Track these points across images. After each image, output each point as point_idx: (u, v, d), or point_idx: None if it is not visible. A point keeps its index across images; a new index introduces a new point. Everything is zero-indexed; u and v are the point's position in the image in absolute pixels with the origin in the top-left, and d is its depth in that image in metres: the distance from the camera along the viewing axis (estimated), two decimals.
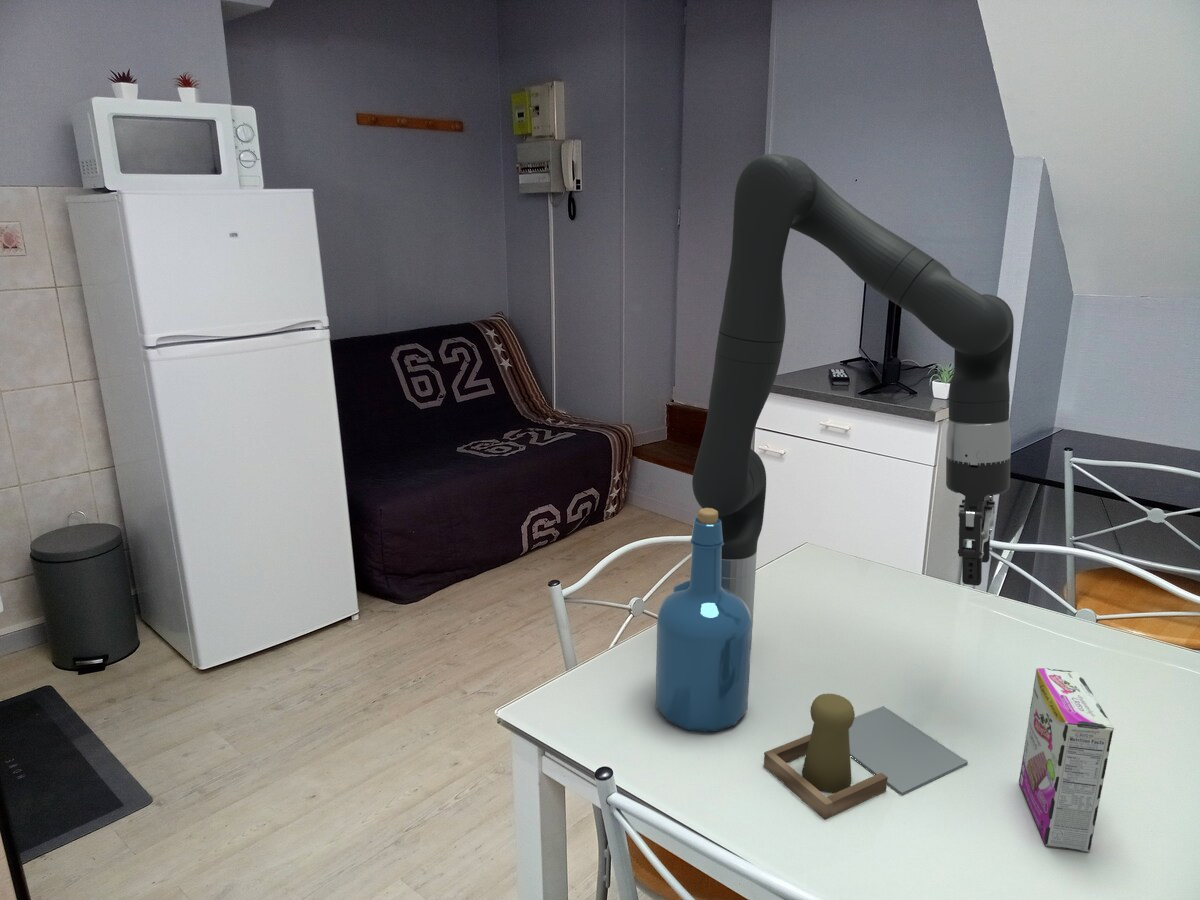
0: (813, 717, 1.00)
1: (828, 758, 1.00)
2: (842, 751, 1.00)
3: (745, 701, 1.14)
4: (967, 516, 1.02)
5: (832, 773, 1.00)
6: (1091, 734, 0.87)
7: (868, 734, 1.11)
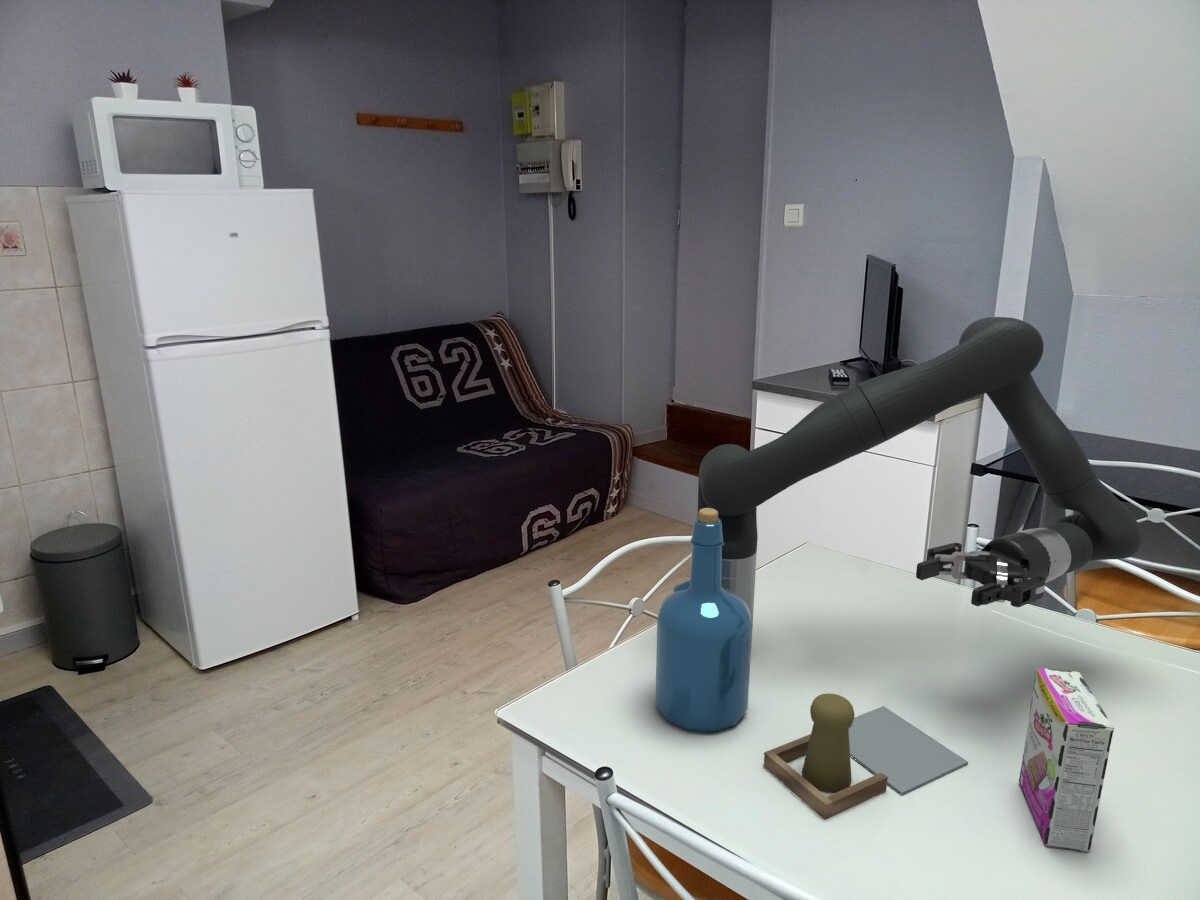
0: (813, 717, 1.00)
1: (828, 758, 1.00)
2: (842, 751, 1.00)
3: (745, 701, 1.14)
4: (1043, 586, 1.04)
5: (832, 773, 1.00)
6: (1091, 734, 0.87)
7: (868, 734, 1.11)
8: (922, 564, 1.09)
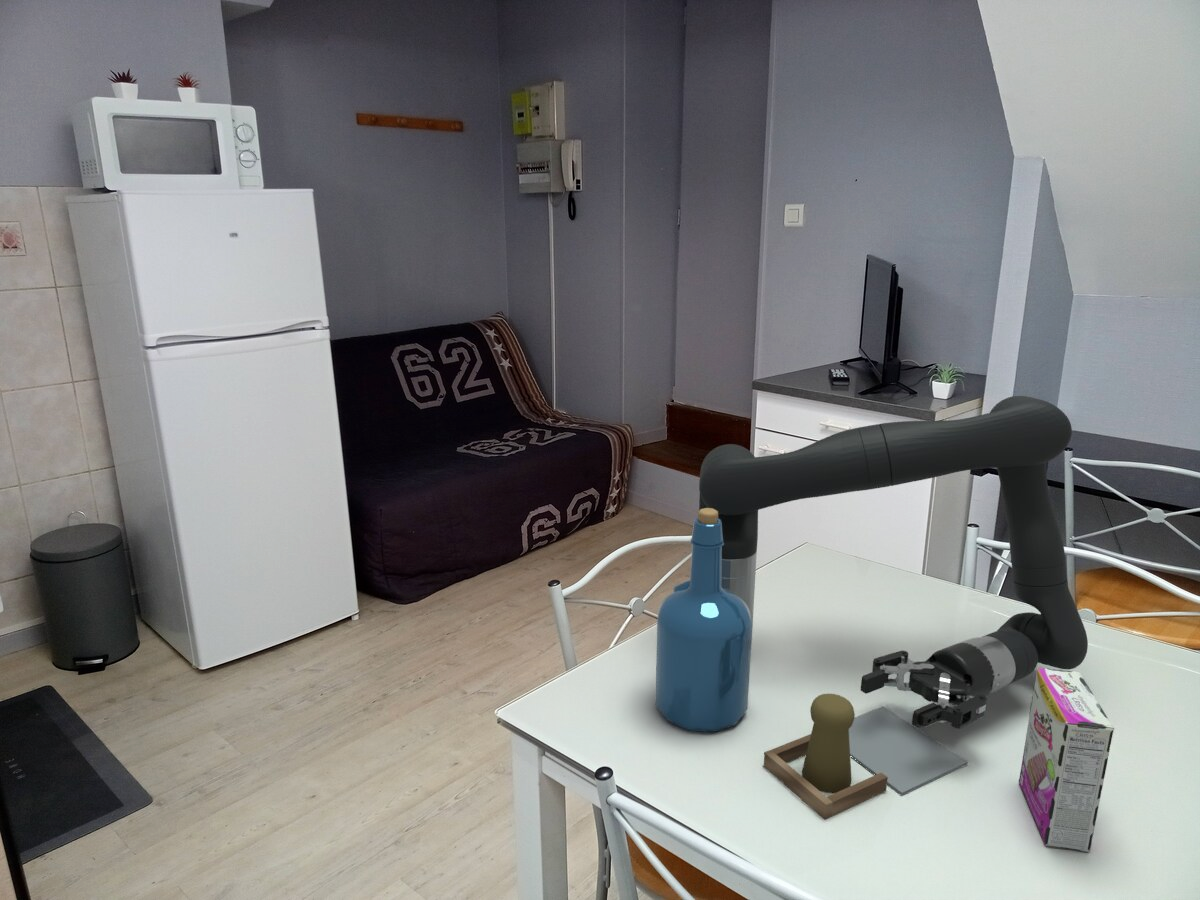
0: (813, 717, 1.00)
1: (828, 758, 1.00)
2: (842, 751, 1.00)
3: (745, 701, 1.14)
4: (984, 705, 1.05)
5: (832, 773, 1.00)
6: (1091, 734, 0.87)
7: (868, 734, 1.11)
8: (866, 678, 1.09)
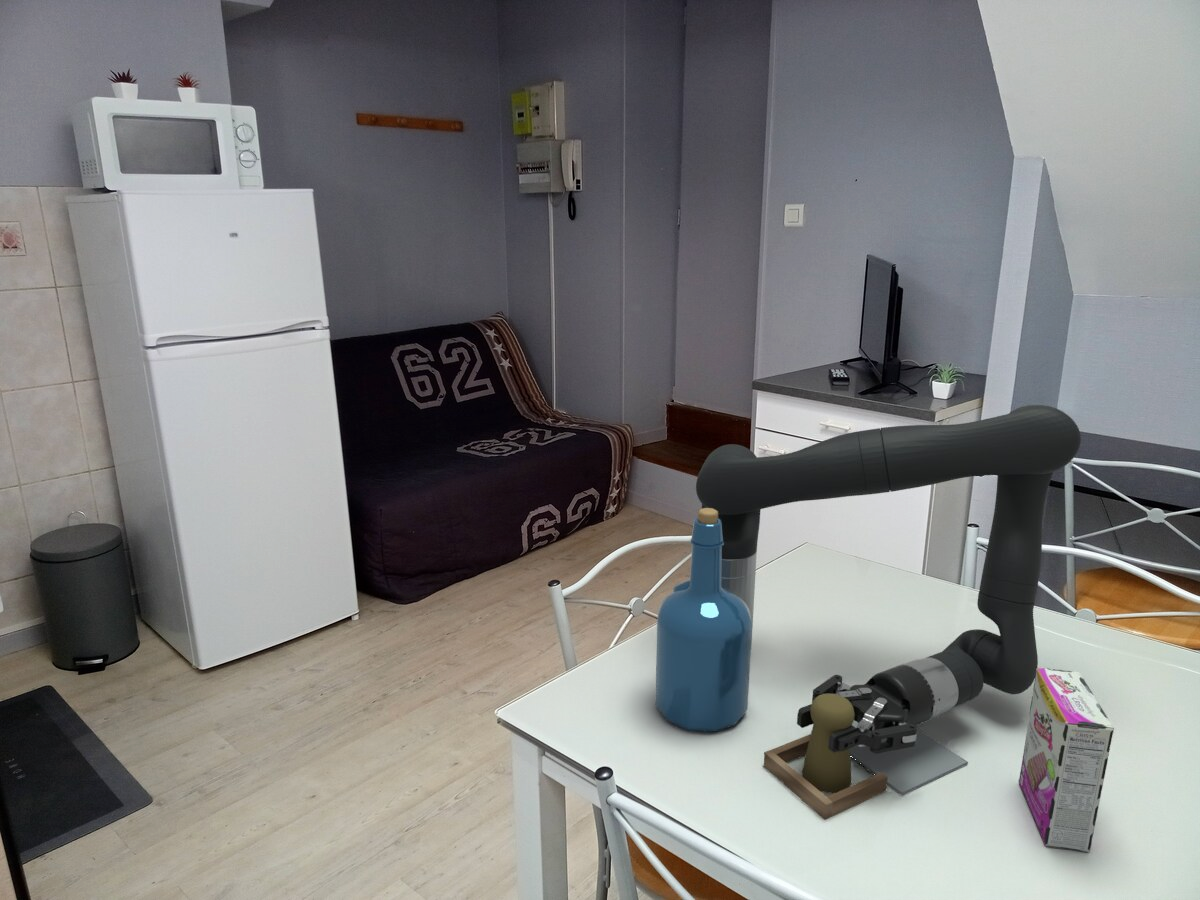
0: (813, 717, 1.00)
1: (828, 758, 1.00)
2: (842, 751, 1.00)
3: (745, 701, 1.14)
4: (914, 735, 0.99)
5: (832, 773, 1.00)
6: (1091, 734, 0.87)
7: None
8: (803, 711, 1.02)
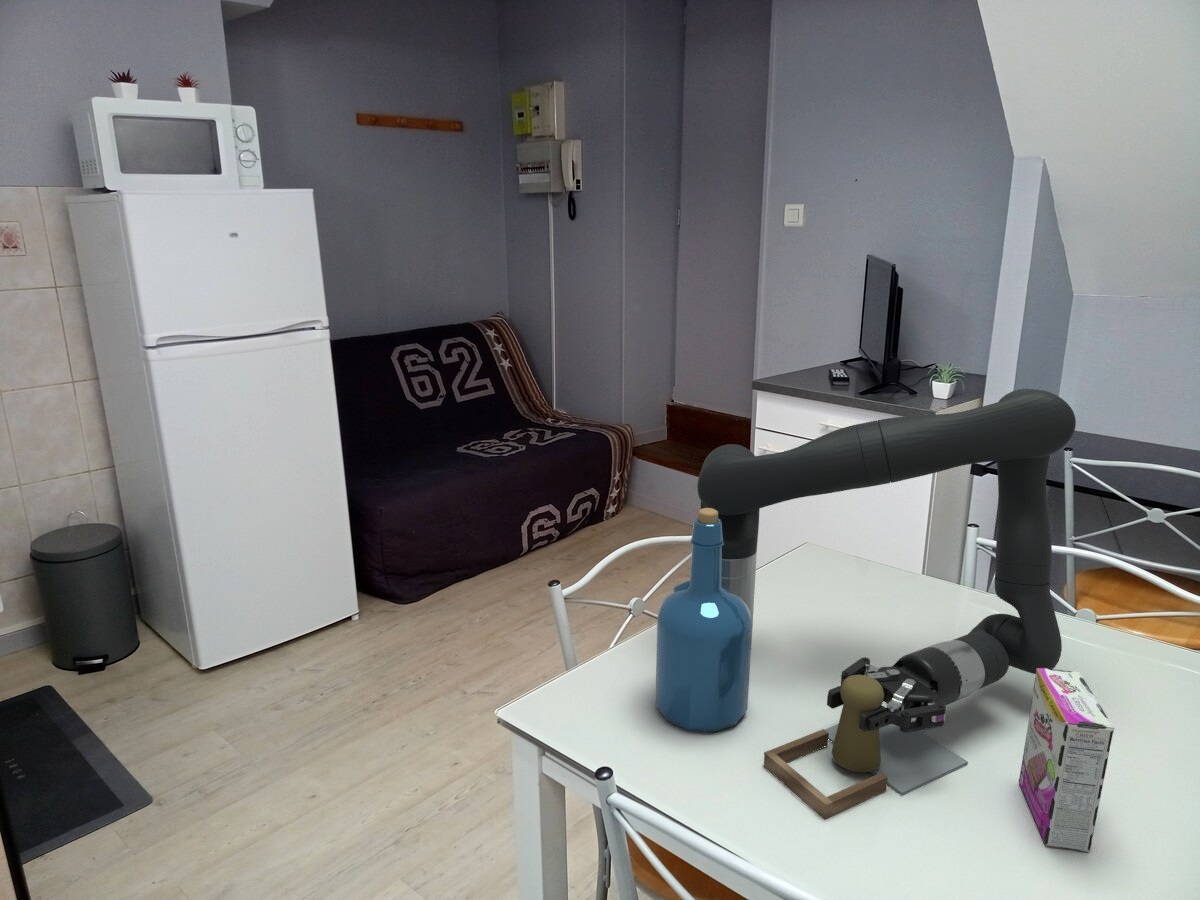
0: (843, 698, 1.02)
1: (858, 737, 1.02)
2: (872, 731, 1.02)
3: (745, 701, 1.14)
4: (943, 715, 1.01)
5: (863, 752, 1.02)
6: (1091, 734, 0.87)
7: None
8: (833, 692, 1.04)
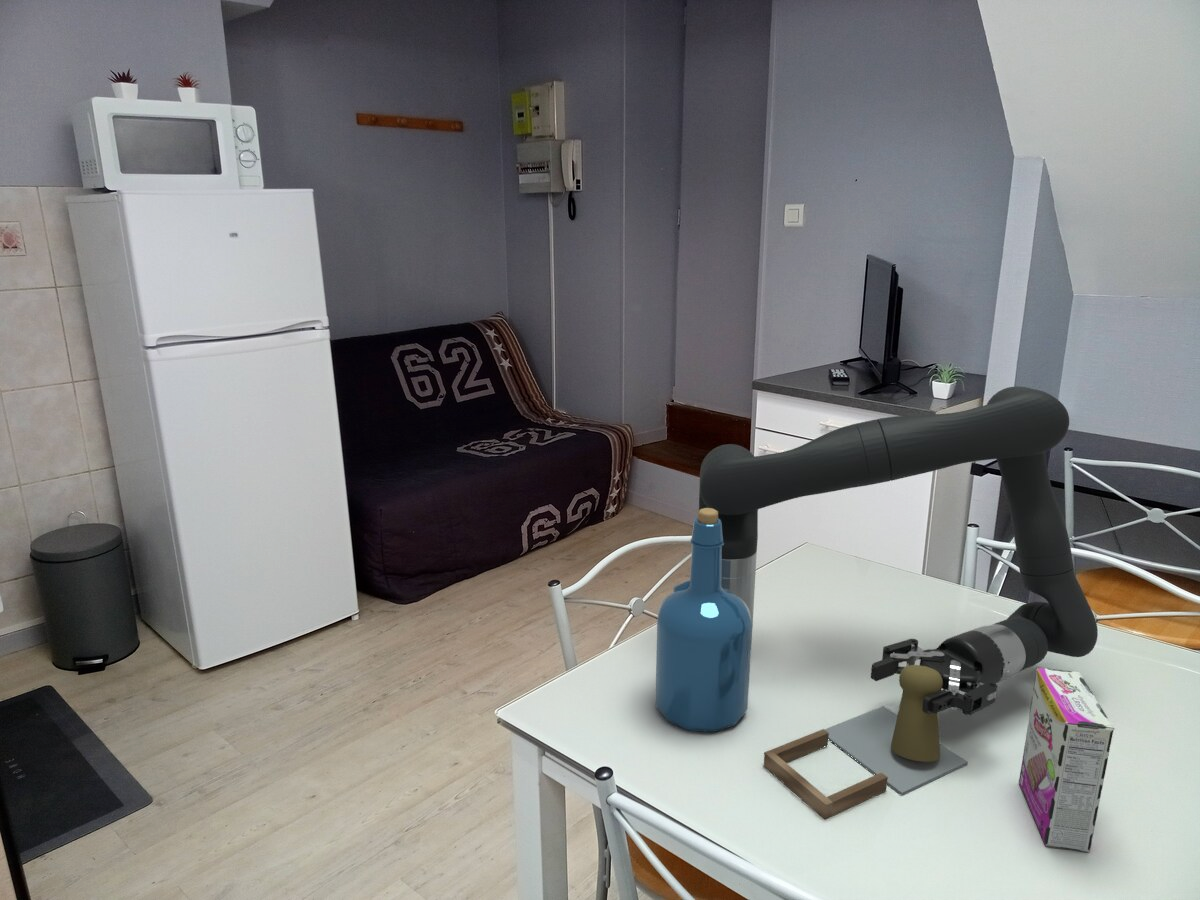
0: (903, 683, 1.05)
1: (919, 724, 1.04)
2: (932, 717, 1.04)
3: (745, 701, 1.14)
4: (995, 692, 1.05)
5: (923, 740, 1.03)
6: (1091, 734, 0.87)
7: (868, 734, 1.11)
8: (876, 665, 1.09)
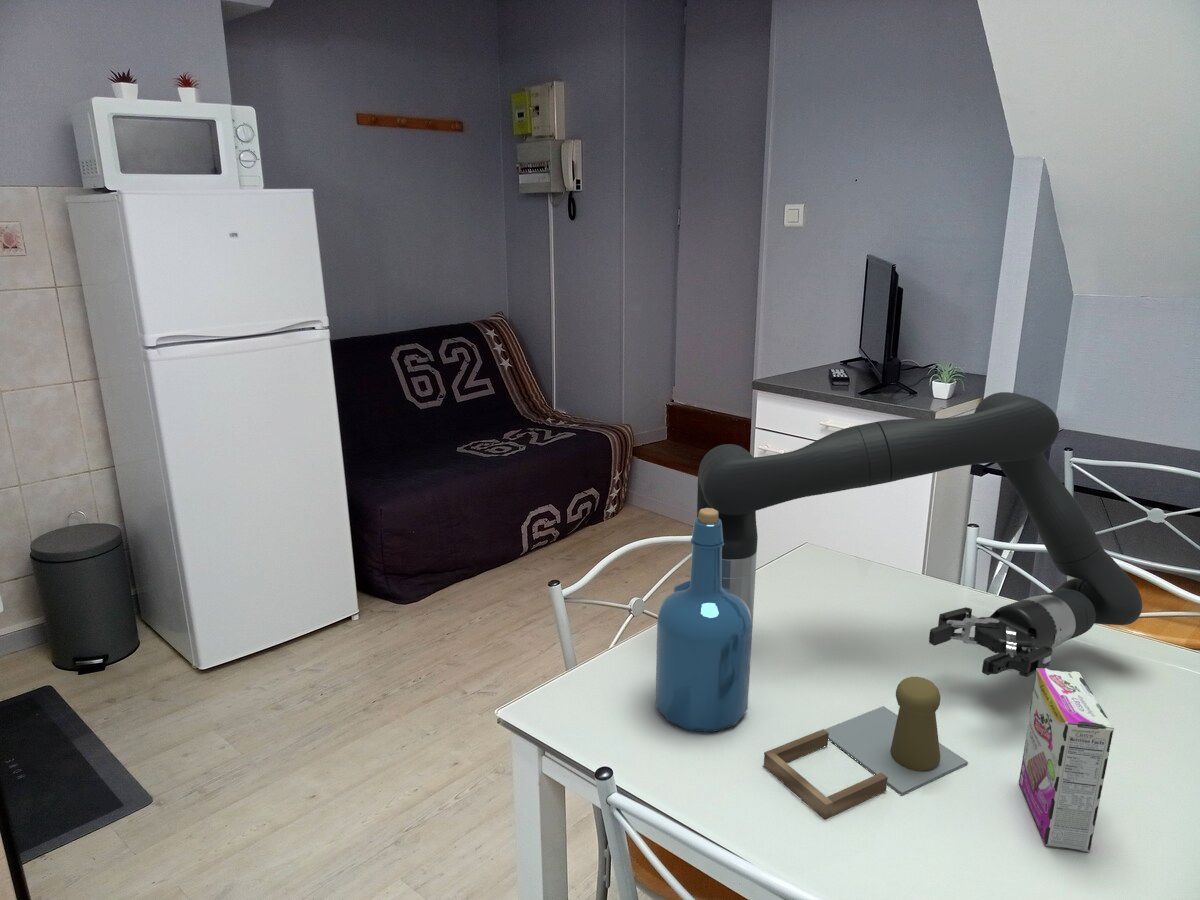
0: (899, 703, 1.02)
1: (917, 739, 1.02)
2: (930, 732, 1.02)
3: (745, 701, 1.14)
4: (1050, 656, 1.10)
5: (922, 753, 1.03)
6: (1091, 734, 0.87)
7: (868, 734, 1.11)
8: (935, 630, 1.15)
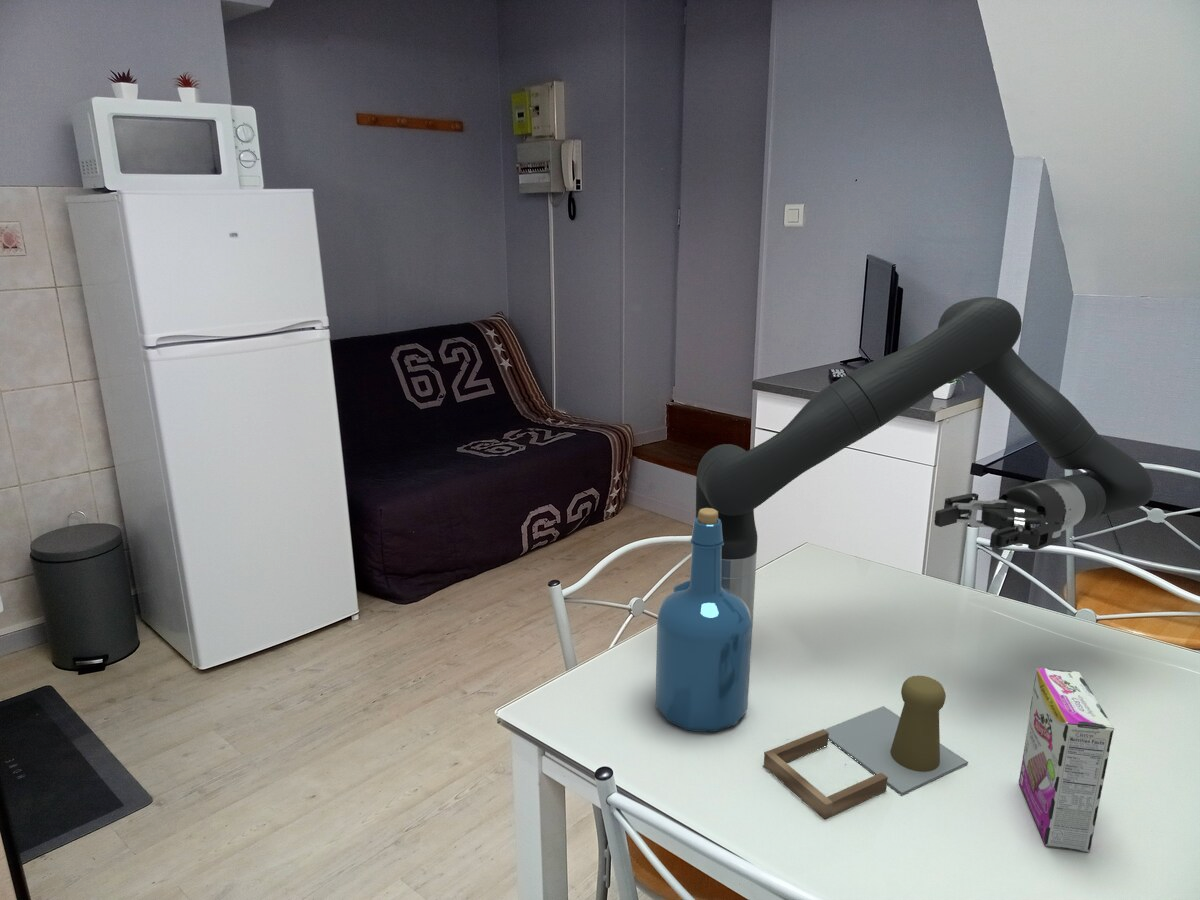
0: (905, 698, 1.03)
1: (919, 737, 1.03)
2: (933, 731, 1.03)
3: (745, 701, 1.14)
4: (1060, 530, 1.06)
5: (923, 752, 1.03)
6: (1091, 734, 0.87)
7: (868, 734, 1.11)
8: (941, 511, 1.11)
